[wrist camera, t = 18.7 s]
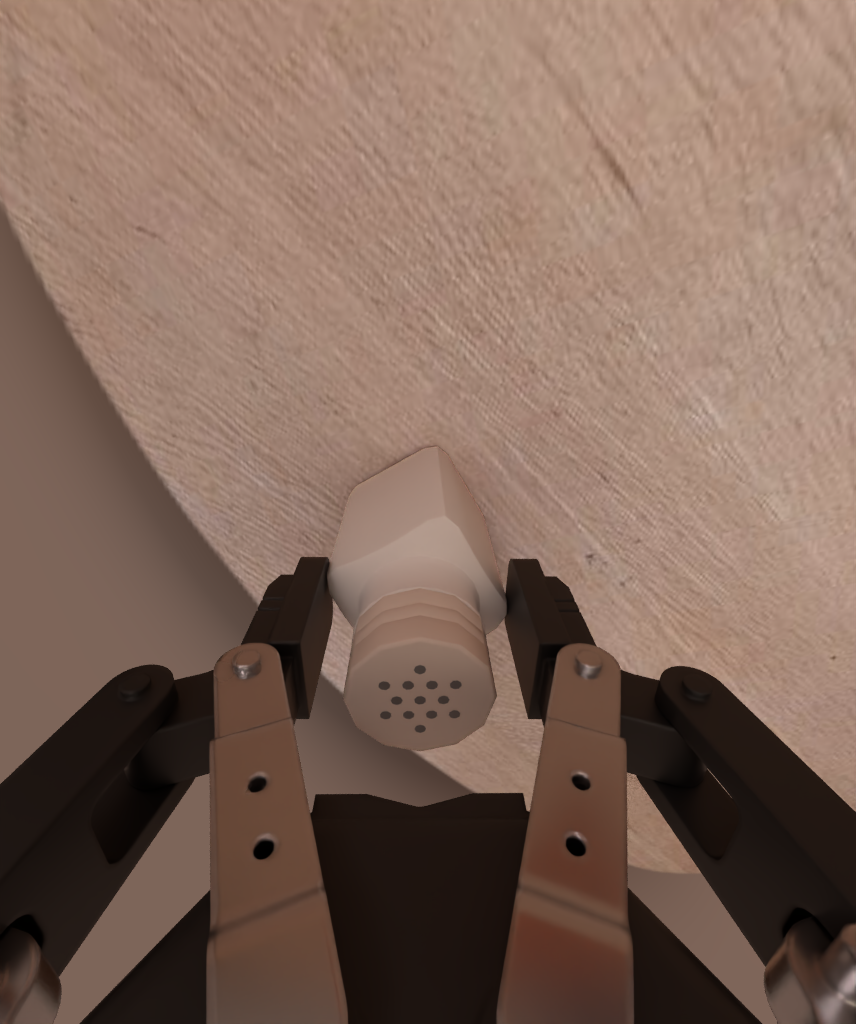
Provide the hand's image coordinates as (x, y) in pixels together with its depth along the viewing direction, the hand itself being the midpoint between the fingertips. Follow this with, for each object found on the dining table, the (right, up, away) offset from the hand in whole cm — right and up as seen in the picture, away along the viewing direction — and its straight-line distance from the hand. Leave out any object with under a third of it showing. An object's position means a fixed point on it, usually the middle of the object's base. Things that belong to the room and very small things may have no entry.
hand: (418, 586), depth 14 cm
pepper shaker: (0, +2, +5) cm, 6 cm away
